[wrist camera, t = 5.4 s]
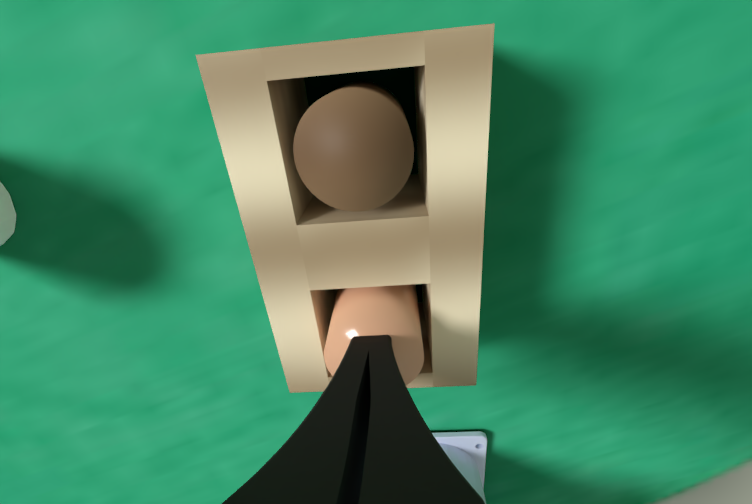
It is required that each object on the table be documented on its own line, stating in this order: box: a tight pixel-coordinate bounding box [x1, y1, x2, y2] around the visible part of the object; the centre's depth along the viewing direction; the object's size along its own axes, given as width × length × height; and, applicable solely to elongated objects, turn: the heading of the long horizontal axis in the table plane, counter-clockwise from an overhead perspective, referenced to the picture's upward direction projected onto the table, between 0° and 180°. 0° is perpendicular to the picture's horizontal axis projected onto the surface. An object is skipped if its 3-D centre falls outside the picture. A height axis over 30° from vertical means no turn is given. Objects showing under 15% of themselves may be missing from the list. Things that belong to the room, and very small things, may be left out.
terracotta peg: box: [324, 284, 424, 385], centre depth 15 cm, size 4×4×5 cm
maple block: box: [196, 24, 494, 393], centre depth 15 cm, size 13×8×5 cm, turn 5°
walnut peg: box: [293, 81, 414, 212], centre depth 13 cm, size 4×4×5 cm
